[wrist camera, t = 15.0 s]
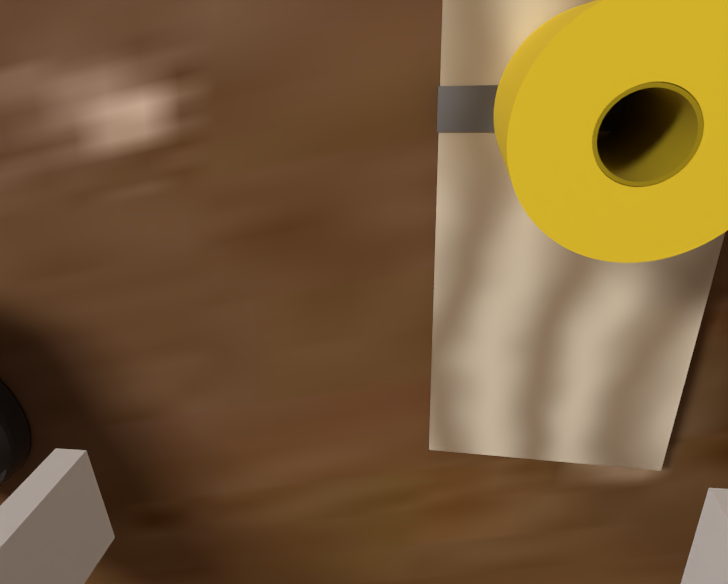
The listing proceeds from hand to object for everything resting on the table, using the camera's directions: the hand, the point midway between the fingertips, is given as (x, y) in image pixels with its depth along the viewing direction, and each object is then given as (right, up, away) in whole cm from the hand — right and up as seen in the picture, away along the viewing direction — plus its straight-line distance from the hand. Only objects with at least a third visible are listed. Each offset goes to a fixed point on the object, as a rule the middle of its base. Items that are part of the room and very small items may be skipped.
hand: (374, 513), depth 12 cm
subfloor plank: (+12, +9, +21) cm, 26 cm away
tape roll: (+12, +15, +17) cm, 25 cm away
